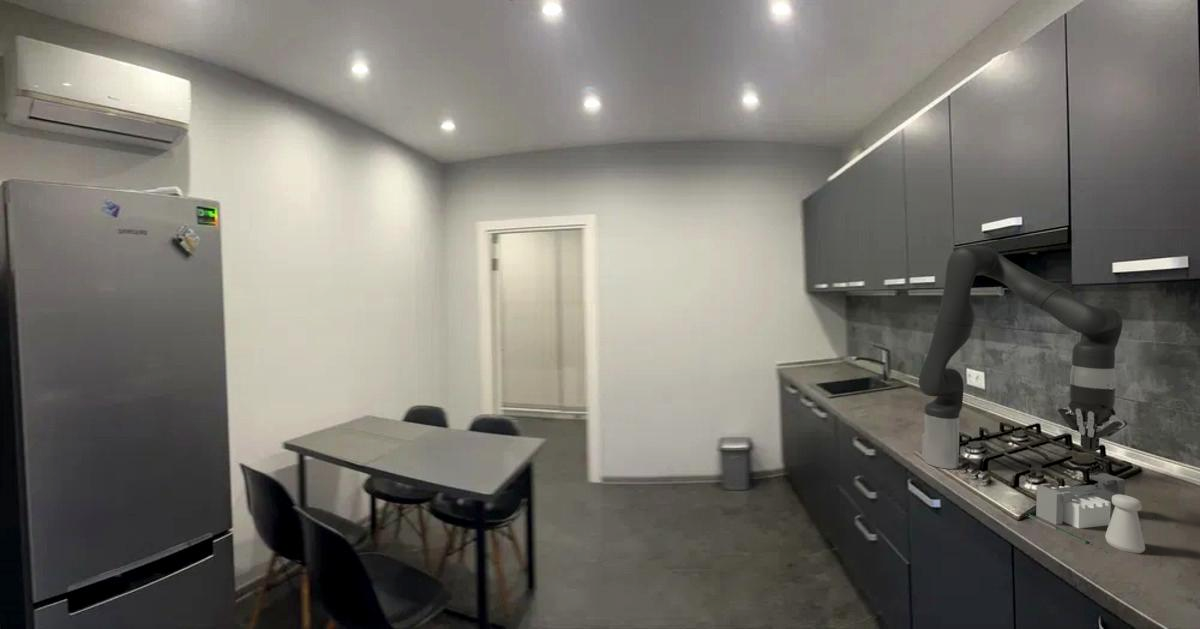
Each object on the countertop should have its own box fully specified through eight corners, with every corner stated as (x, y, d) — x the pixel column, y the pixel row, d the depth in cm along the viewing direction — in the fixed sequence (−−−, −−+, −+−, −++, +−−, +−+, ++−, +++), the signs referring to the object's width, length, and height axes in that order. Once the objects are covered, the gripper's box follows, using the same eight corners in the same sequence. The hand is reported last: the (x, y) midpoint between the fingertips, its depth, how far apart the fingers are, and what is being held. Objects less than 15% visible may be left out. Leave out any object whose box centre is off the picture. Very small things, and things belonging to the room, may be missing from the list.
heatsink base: (1012, 509, 116) (1012, 475, 115) (1077, 501, 118) (1078, 469, 118) (1084, 543, 100) (1086, 505, 99) (1158, 534, 102) (1160, 496, 102)
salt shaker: (1135, 562, 93) (1137, 505, 92) (1098, 547, 98) (1100, 493, 98) (1151, 556, 95) (1153, 500, 94) (1114, 542, 100) (1115, 489, 99)
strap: (1046, 492, 109) (1046, 487, 109) (1088, 488, 111) (1088, 483, 111) (1060, 498, 106) (1061, 493, 106) (1104, 494, 107) (1104, 488, 107)
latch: (1088, 509, 112) (1089, 474, 111) (1103, 508, 112) (1104, 473, 111) (1108, 517, 108) (1109, 481, 107) (1123, 516, 108) (1125, 479, 107)
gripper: (1048, 379, 113) (1046, 442, 114) (1114, 391, 100) (1111, 461, 101) (1072, 377, 114) (1070, 439, 115) (1140, 389, 101) (1137, 459, 102)
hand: (1089, 449), depth 108 cm, fingers closed
